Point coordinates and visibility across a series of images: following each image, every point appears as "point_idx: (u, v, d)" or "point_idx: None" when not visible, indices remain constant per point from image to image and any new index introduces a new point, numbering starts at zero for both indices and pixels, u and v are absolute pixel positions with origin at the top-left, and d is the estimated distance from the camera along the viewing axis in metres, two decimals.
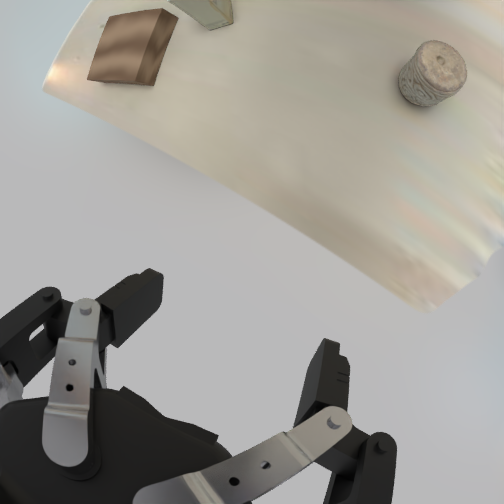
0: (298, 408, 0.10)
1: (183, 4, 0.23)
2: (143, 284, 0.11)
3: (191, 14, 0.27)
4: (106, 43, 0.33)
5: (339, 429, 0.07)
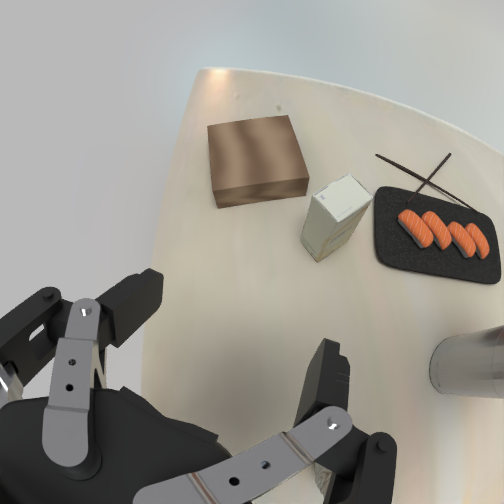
0: (298, 408, 0.10)
1: (314, 212, 0.31)
2: (143, 284, 0.11)
3: (307, 221, 0.34)
4: (253, 128, 0.42)
5: (339, 429, 0.07)
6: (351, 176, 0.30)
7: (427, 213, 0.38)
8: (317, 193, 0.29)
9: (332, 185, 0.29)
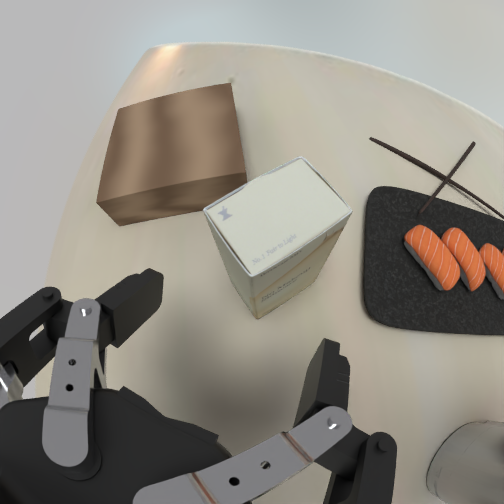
0: (298, 408, 0.10)
1: (219, 244, 0.15)
2: (143, 284, 0.11)
3: (222, 257, 0.18)
4: (175, 104, 0.26)
5: (339, 429, 0.07)
6: (304, 163, 0.14)
7: (451, 231, 0.22)
8: (215, 205, 0.13)
9: (254, 185, 0.13)
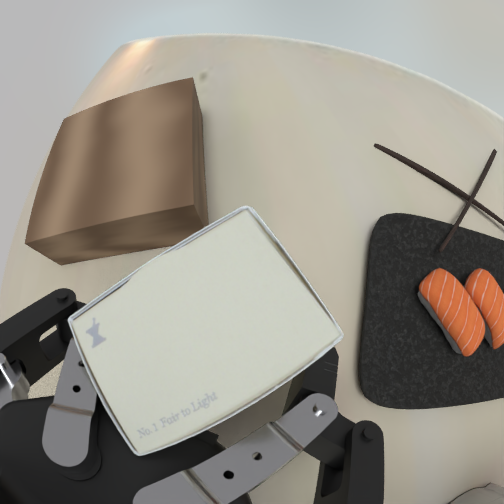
0: (287, 397, 0.10)
1: None
2: None
3: None
4: (122, 110, 0.20)
5: (324, 416, 0.07)
6: (251, 223, 0.07)
7: (478, 276, 0.15)
8: (84, 313, 0.06)
9: (147, 277, 0.07)
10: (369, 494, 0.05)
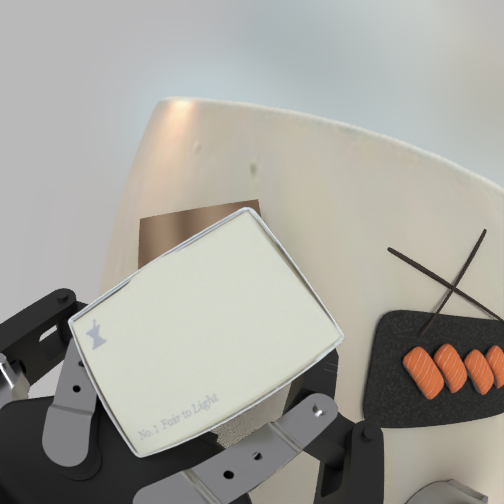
0: (287, 397, 0.10)
1: None
2: None
3: None
4: (202, 228, 0.30)
5: (324, 416, 0.07)
6: (251, 224, 0.07)
7: (444, 350, 0.25)
8: (85, 314, 0.06)
9: (147, 279, 0.07)
10: (369, 494, 0.05)
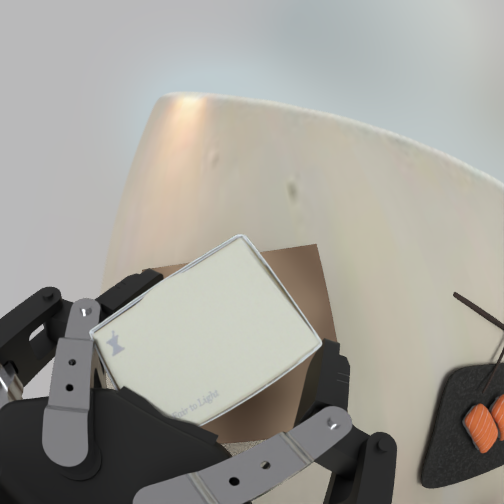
0: (298, 408, 0.10)
1: None
2: (143, 284, 0.11)
3: None
4: None
5: (339, 429, 0.07)
6: (244, 249, 0.08)
7: (502, 403, 0.16)
8: (104, 326, 0.08)
9: (158, 296, 0.08)
10: None
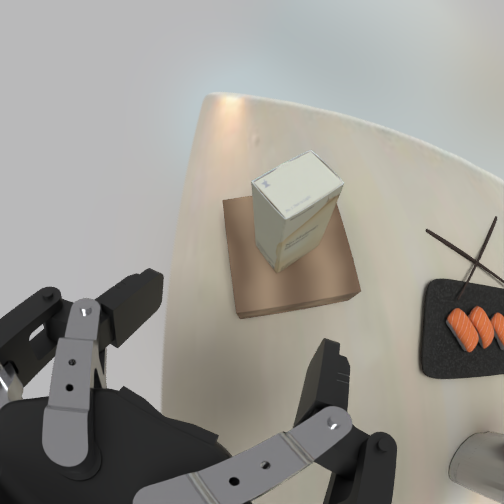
0: (298, 408, 0.10)
1: (259, 206, 0.22)
2: (143, 284, 0.11)
3: (255, 220, 0.25)
4: None
5: (339, 429, 0.07)
6: (312, 154, 0.21)
7: (476, 311, 0.29)
8: (259, 179, 0.20)
9: (282, 167, 0.21)
10: None
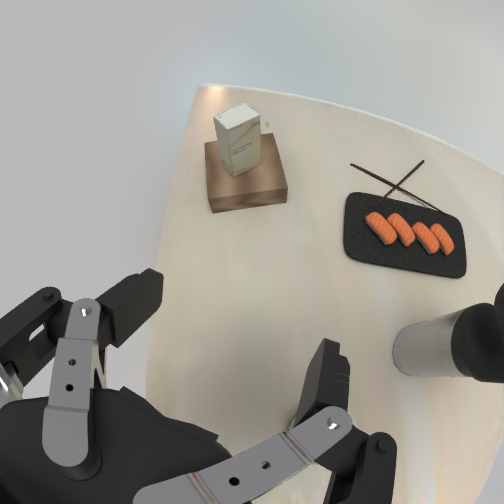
0: (298, 408, 0.10)
1: (218, 130, 0.40)
2: (143, 284, 0.11)
3: (218, 141, 0.43)
4: None
5: (339, 429, 0.07)
6: (245, 104, 0.39)
7: (392, 215, 0.47)
8: (217, 115, 0.39)
9: (229, 110, 0.39)
10: None
